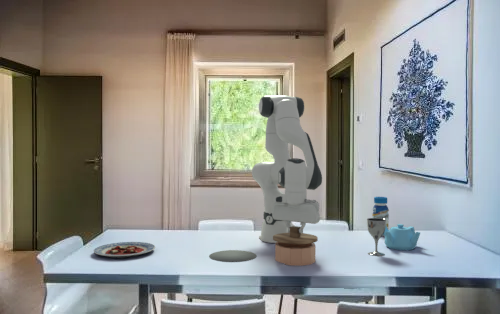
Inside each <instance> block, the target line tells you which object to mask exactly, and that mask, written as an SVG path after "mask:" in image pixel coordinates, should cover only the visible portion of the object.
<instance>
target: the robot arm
mask: <svg viewBox="0 0 500 314" xmlns="http://www.w3.org/2000/svg"><path fill="white" fill-rule="evenodd" d="M258 111H259V114H260V116H262V117H264V118H267V121H266V126H265V142H264V143H265V144H264V145H265V150H266V151H267V153H269V154H270V155H272V157H273V159H274V160H273V161H262V162H257V163H255V164H254V165H253V167H252V169H251V175H252V179H253V180H254V181H255V182H256V183H257V184H258V185H259V187H260V188H261V191H262V194H263V201H264V204H263V205H264V206H263V207H264V211H263V221H262V222H261V231H260V235H259V236H258V238H259V239H260V240H261V241H262V242H265V243H269V244H270V243H272V244H273V243H274V244H276V242H277V241H274V240H273V235H275V234H280V233H290V227H292V226H295V225H294V223H293V222H295V223H299V225H300V226H299V227H300V229H298V233H300V234H302V233H304V228H305V227H306V224H313V225H315V224H318V223H319V222H320V218H321V217H320V203H319V202H318V201H317V200H316V199H308V198H307V194H308V191H307V190H311V191H315V190H316V189H318V188H319V187H320V186H321V185H322V183H323V176H322V171H321V169H320V167H319V164H318V161H317V158H316V154H315V150H314V146H313V143H312V140H311V137H310V134H308V133H307V132H306V131H305V130H304V129H303V127H302V125H301V121H300V118H302V117H303V114H304V113H305V101H304V100H303V98H301V97H299V96H290V95H283V94H282V95H264V96H262V97H261V98H260V100H259V102H258ZM289 144H291V145H293V146H295V147H297V148H299V149H300V150H301V152H303V156H304V160H303V159H302V158H297V157H296V158H292V157H291V154H290V151H289ZM279 185H280V187H282V188H284V192H282V191H281V189H279Z"/></svg>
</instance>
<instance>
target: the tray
mask: <svg viewBox="0 0 500 314" xmlns="http://www.w3.org/2000/svg"><path fill="white" fill-rule="evenodd" d="M208 257H209V259H211V260H213V261H217V262H222V263H241V262H249V261H253V260H255V259H257V257H258V256H257V254H256V253H254V252H252V251H248V250H240V249H239V250H238V249H235V250H234V249H232V250H231V249H229V250H218V251H215V252H211V254H209V256H208Z"/></svg>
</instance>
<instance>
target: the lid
mask: <svg viewBox="0 0 500 314" xmlns="http://www.w3.org/2000/svg"><path fill="white" fill-rule="evenodd" d="M300 227H301V226H297V225H296V226H295V225H294V226H292V227H290V233H280V234H275V235H273V240H274V241H277V242H281V243H288V244H309V243H316V242H318V239H319V238H318V236H317V235H315V234H310V233H305V232H303V233H302V234H300V233H298V229H300Z"/></svg>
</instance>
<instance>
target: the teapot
mask: <svg viewBox="0 0 500 314" xmlns="http://www.w3.org/2000/svg"><path fill="white" fill-rule="evenodd" d="M396 225H397V226H391V227H390V228H389V227H388V228H387V226H386V229H385V233H384V236H383V237H384V244H385V246H386V247H387V248H388V249H391V250H396V251H397V250H398V251H411V250H412V251H413V250H414V249H415V248H416V247H417V244H418V241H419V238H420V235H421V232H420V231H415V226H411V225H410V226H408V227H407V226H404V224H403V223H398V224H396Z"/></svg>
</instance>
